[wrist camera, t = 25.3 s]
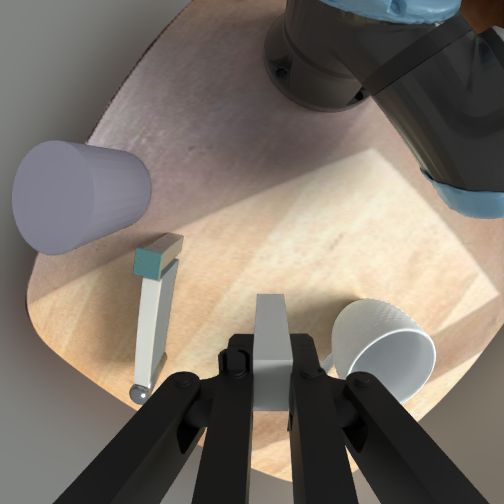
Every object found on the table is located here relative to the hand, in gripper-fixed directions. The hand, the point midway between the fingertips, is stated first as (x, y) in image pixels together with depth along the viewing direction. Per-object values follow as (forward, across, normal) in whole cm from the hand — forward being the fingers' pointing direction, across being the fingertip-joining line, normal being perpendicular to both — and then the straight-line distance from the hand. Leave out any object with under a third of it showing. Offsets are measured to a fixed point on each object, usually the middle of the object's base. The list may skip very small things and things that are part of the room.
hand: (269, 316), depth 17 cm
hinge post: (+21, -16, -18) cm, 31 cm away
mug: (+22, +12, -13) cm, 28 cm away
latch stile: (+21, -12, 0) cm, 24 cm away
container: (+21, -20, +6) cm, 30 cm away
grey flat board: (+20, -13, -9) cm, 26 cm away
